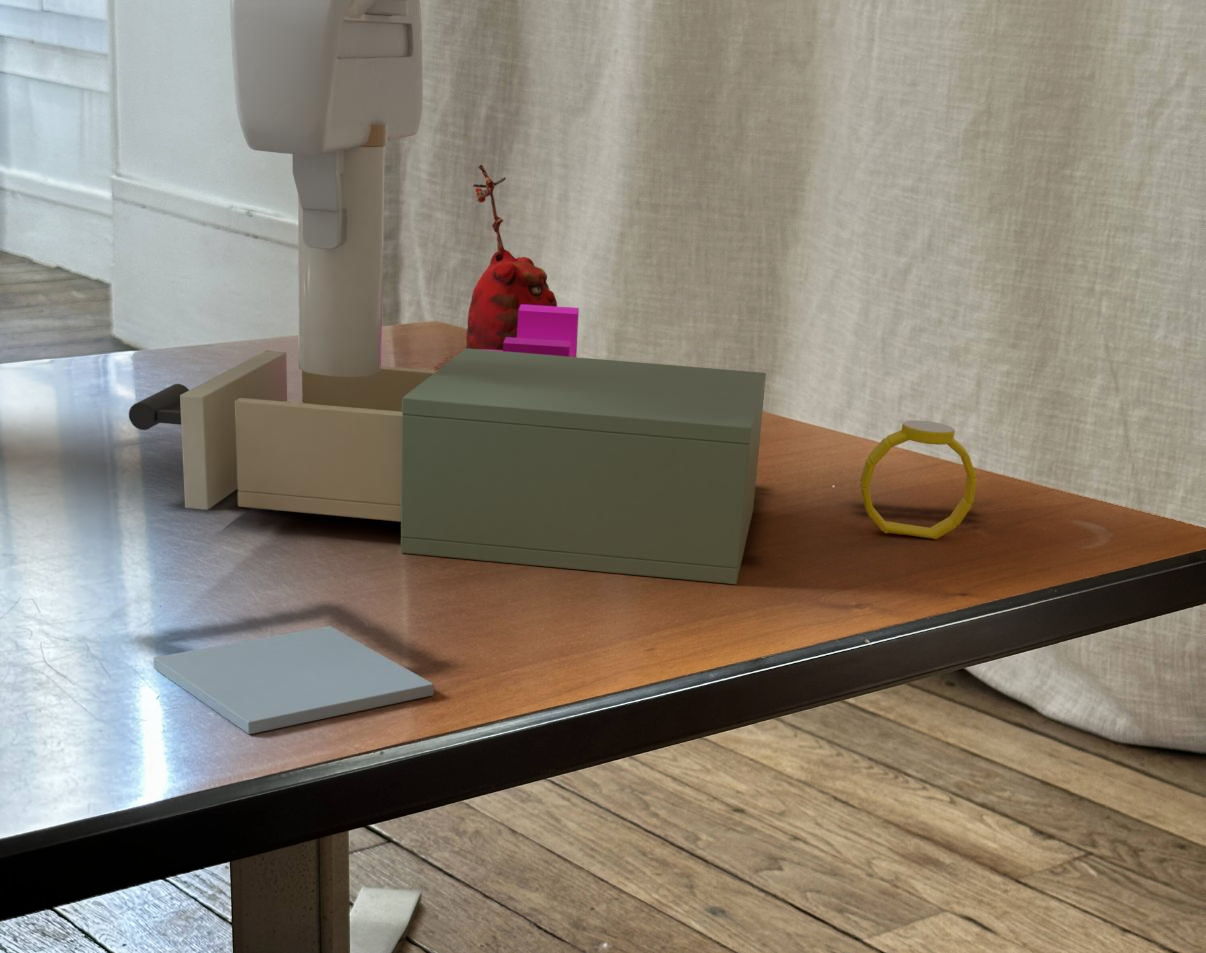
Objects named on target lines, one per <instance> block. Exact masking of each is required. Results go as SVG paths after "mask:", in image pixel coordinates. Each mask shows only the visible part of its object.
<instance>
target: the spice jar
mask: <svg viewBox="0 0 1206 953" xmlns="http://www.w3.org/2000/svg"><path fill="white" fill-rule="evenodd" d="M387 144H388V141H387V123H384V122H382V123H376V124H371V131H370V135H369V139H368V142H367V143H366V144H365V145H363V146H359V147H354V148H349V149H344V171H343V173H342V174H340V179H341V194H342V209H347V213H346V240H345V242H344V244H343V245H341V246H339V247H336V248H335V249H320V248H310V247H308V246H307V245H306V244H305V243H304V241H303V225H302V208H301V204H300V200H299V196H298V195H297V196H298V197H297V226H298V228H297V231H298V232H297V238H298V240H297V246H298V247H297V250H298V252H297V254H298V255H297V258H298V261H297V262H298V263H297V264H298V266H297V267H298V268H297V269H298V272H297V275H298V280H297V281H298V282H297V284H298V286H297V287H298V291H297V292H298V296H297V297H298V298H297V299H298V369H299V370H300V371H301V372H302V371H304V372H307V373H311V374H315V375H321V376H329V377H366V376H372V375H376V374H379V373H380V372H381V366H382V334H383V333H382V332H383V331H382V330H383V328H382V327H383V325H382V324H383V278H384V277H383V273H384V272H383V270H384V269H383V268H384V267H383V266H384V264H383V263H384V261H383V260H384V216H385V214H384V212H385V210H384V209H385V207H384V206H385V164H384V157H385V158H386V156H385V155H386V146H387Z"/></svg>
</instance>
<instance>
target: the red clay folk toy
mask: <svg viewBox="0 0 1206 953" xmlns="http://www.w3.org/2000/svg"><path fill="white" fill-rule="evenodd" d="M477 168H478V169H479V170H480V171H481V174H482V175H483V177H484V178H485V184H481V183H474V184H473V185H472V187H473V188H475V192H474V194H475V200H476V202H478V203H484V202H485V201H486V198H487V197H489V196H490V204H491V208H492V209H491V210H492V215H493V223H492V224H491V226H492V229H493V231H494V233H495V234H496V244H497V250H496V251H495V252H494V253H493V255H492V256H491V259H490V262H489V265H488V267H487V268H486V269H485V270H484V272H483V273H482V275H481V276H480V278H479V279H478V281H477V283H476V284H475V286H474V288H473V291H472V294H471V300H470V305H469V308H468V314H467V330H466V338H465V339H466V347H465V349H466V348H468V349H488V350H503V342H504V340H505V338H506V337H512V338H517V326H518V310H519V308H520V306H521V304H524V305H541V306H557V307H558V301H557V299H556V295H555V292H553V291H552V290H550V286H549V284H548V282H547V279H548V274H547V273H546V272H545V270H544V269H543V268H540V267H538V266H536V265H535V264H534V262H533V260H532V259H531V258H529V257H527V256H521V257H517V258H516V257H515V256H514V255H513V254H512V253H511V252H510V251H509V250H507V249H505V247H504V244H503V239H502V236H501V232H500V227H501V224H502V223H503V222H504V219H503V218H501V217H499V215H498V213H497V206H496V202H495V196H494V190H495V187H496V186H497V185H499V184H501V183H503V182H505V180H506V179H507V178H506V176H502V178H500V179H498V180H497V181H495V182H494V180H492V179H491V178H490V176H489V174H488V173H487V171H486V169H485V168H484V166H483V164H480V165H479V166H478V165H477ZM483 188H484V189H483Z"/></svg>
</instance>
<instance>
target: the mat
mask: <svg viewBox="0 0 1206 953" xmlns="http://www.w3.org/2000/svg"><path fill="white" fill-rule="evenodd" d="M153 669H154V670H155V671H157V672H158V673H160V674H161V675H163V676H164V677H166V678H167V679H168V680H170V681H171V682H173V683H174V684H175V685H177V686H178V687H180V688H182V689H183V690H184V691H186V692H187V693H188V694H190V695H191V696H193V697H194V698H196V699H197V700H198V701H200V702H201V703H203V704H204V705H206V706H207V707H209V708H210V709H212V710H213V711H214V712H215V713H217V714H219V715H220V716H222V717H223V718H224V719H226V720H227V721H229V722H230V723H232V724H233V725H234V726H236V727H237V728H239V729H240V730H242V731H243V732H245V733H246V734H247V735H252V734H257V733H262V732H266V731H272V730H276V729H281V728H287V727H290V726H295V725H300V724H304V723H309V722H310V723H311V722H315V721H318V720H319V721H320V720H323V719H324V720H325V719H329V718H333V717H339V716H342V715H347V714H352V713H357V712H361V711H366V710H371V709H377V708H380V707H385V706H391V705H394V704H400V703H404V702H408V701H414V700H418V699H422V698H429V697H432V696H434V695H435V694H434V693H435V692H434V691H435V685H434V683H433V682H431V681H430V680H427V679H426V678H424V677H422V676H420V675H419V674H417V673H415V672H413V671H411V670H410V669H408V668H406V667H404V666H403V665H400V664H399V663H397V662H396V661H394V660H391V659H390V658H388V657H386V656H385V655H383V654H381V653H379V652H377V651H376V650H374V649H372V648H370V647H369V646H366V644H363V643H361V642H359V641H358V640H356V639H354V638H353V637H351V636H349V635H347V634H345V632H341V631H340V630H339V629H337V628H334V626H331V625H328V626H322V627H316V628H311V629H305V630H300V631H296V632H295V631H294V632H289V633H283V634H277V635H272V636H265V637H260V638H255V639H249V640H243V641H238V642H232V643H227V644H220V645H215V646H210V647H203V648H198V649H193V650H187V651H181V652H175V653H170V654H165V655H158V656H154V657H153Z"/></svg>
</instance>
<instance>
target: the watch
mask: <svg viewBox="0 0 1206 953" xmlns="http://www.w3.org/2000/svg"><path fill="white" fill-rule="evenodd" d="M955 432H956V431H955V428H954V427H952V426H950V425H947V424H944V423H940V422H936V421H929V420H917V419H916V420H913V419H910V420H905V421H903V422H902V425H901V429H900V430H898V431H895V432H893V433H890V434H889V435H886V437H883V439H881V441H879V443H878V444H877V445H876V446H875V447H874V449H872V450H871V452H870V453H869V454H868V456H867V458H866V459H865V462H864V466H863V469H862V473H861V477H860V484H859V486H860V491H861V496H862V501H863V506H864V509H865V512H866V513H867V516H868V517H869V519H871V521H872V522H873V523H874V524H875V525H876V527H877V528H878V529H879V530H880V531H881V532H882V533H884V534H894V535H900V536H901V535H904V536H905V535H906V536H913V537H919V538H925V539H932V540H938V539H940V538H941V537H943V536H945V535H947V534H948V533H949V532H951V531H953V530H955V529H957V526H960V524H961V523H962V521H963V520H964V519H965V517H966V516H967V514H968V513H969V512H970V510H971V509H972V507H973V504H974V502H975V501H974V500H975V495H976V488H977V481H978V480H977V473H976V470H975V468H974V465H973V462H972V459H971V458H970V455H969V453H968V451H967V450H966V449H965V446H963V445H962V444H961V443H960V442H959V441H958V440H956V439H955ZM908 441H911V442H915V443H920V444H928V445H938V446H939V445H940V446H941V445H943V446H945V445H946V446H948V447H949V448H950V449H952V450H953V451H954V452H955V453H956V454H957V455H958V456H959V457H960V459H961V462H962V465H963V468H964V471H965V473H966V475H965V483H964V488H963V497H962V498H961V499H960V500H959V502H958V504H957V505H956V507H955V508H954V510H953V511H952V512H951V514H950V515H949V516H948V517H946V518H945V519H942V520H941V521H939V522H937V523H936V524H933V525H932V526H931V527H927V526H920V525H914V524H907V523H901V522H894V521H888V520H885V519H884V518H883V517H882V516H881V514H880V513H879V512H878V511H877V509H875V507H874V506H873V502H872V498H871V491H870V485H871V482H872V478H873V475H874V471H875V468H876V466H877V464H878V463H879V462H880V461H881V460H882V458H884V457H885V455H887V453H888V452H889V451H890V450H891V449H892V448H893V447H896V446H899V445H901V444H903V443H906V442H908Z"/></svg>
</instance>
